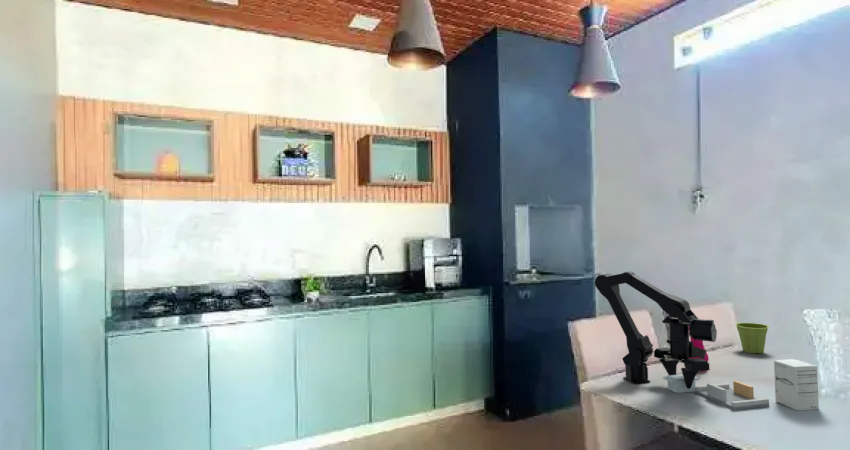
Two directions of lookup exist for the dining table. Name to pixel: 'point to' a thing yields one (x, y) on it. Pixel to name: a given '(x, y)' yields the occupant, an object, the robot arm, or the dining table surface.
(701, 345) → the pepper mill
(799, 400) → the supplement box
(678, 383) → the light blue knobbed block
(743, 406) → the mounting plate
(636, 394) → the dining table surface
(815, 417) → the dining table surface
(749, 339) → the plant pot
